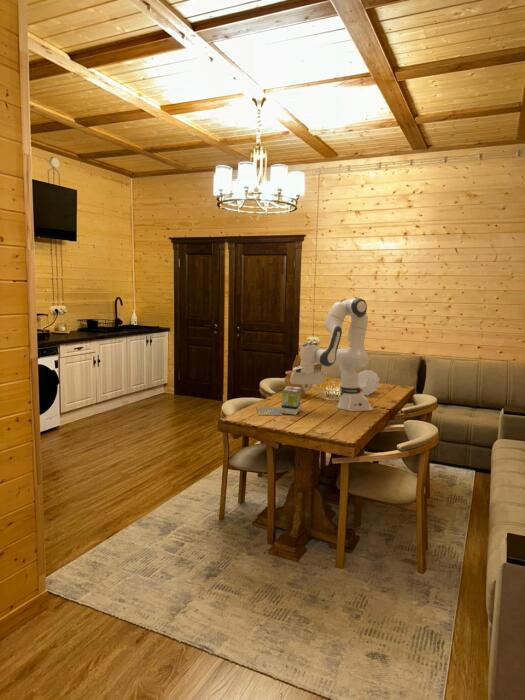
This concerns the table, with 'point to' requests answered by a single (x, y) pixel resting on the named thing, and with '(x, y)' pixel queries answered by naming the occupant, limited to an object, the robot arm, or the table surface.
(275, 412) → the mat
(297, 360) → the terracotta urn
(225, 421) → the table surface
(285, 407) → the tea box
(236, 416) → the table surface
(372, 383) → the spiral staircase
